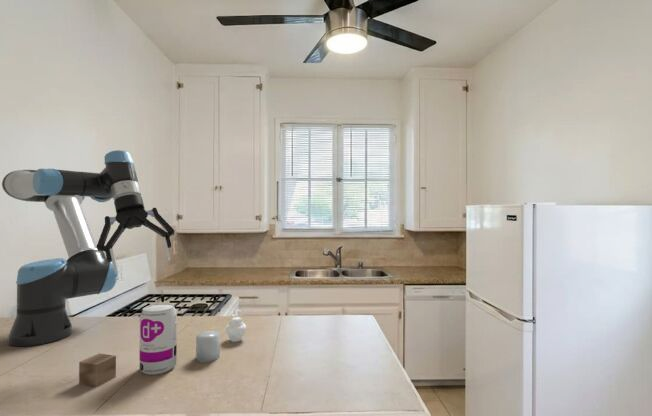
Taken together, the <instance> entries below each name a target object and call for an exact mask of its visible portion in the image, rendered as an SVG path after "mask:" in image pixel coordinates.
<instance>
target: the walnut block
mask: <svg viewBox="0 0 652 416" xmlns="http://www.w3.org/2000/svg"><path fill="white" fill-rule="evenodd" d="M78 363H79V367H78V368H79V369H78V384H79V385H82V386H88V387H93V388H98V387H99V386H102V385H104V384H106V383H107V382H109V381H111V380H113V379H115V378H116V377H117V355H112V354H106V353H100V352H99V353H97V354H95V355H93V356H89V357H88V358H86V359H85V358H84V359H83V360H80V361H79V362H78Z"/></svg>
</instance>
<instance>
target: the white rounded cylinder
mask: <svg viewBox="0 0 652 416" xmlns="http://www.w3.org/2000/svg"><path fill="white" fill-rule="evenodd" d="M220 357H221V333H220V331H217V330H206V331H201V332H199V333H197V334H196V335H195V360H196V361H198V363H208V362H209V363H210V362H214V361H217V360H218V359H220Z"/></svg>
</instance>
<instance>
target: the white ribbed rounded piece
mask: <svg viewBox="0 0 652 416" xmlns="http://www.w3.org/2000/svg"><path fill="white" fill-rule="evenodd" d="M246 331H247V325H246V324H245V322H244V321H243V319H242V318H241V317H239V316H235V317H232V318H230V321H229V323H228V324H227V325H226V327H225V332H226V334H227V337H228V339H229V340H230V342H232V343H236V342H241V341H242V340H243V337H244V335H245V333H246Z"/></svg>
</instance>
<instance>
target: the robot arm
mask: <svg viewBox="0 0 652 416" xmlns="http://www.w3.org/2000/svg"><path fill="white" fill-rule="evenodd" d="M104 165H105V167H104V168H103V169H102V170H101V171H100V172H88V171H76V170H67V169H66V170H65V169H55V168H38V169H17V170H13V171H10V172H8V173H7V174H5V176H4V177H3V178H2V182H1V187H2V190H3V191H4V192H5V193H6V194H7V195H8V196H9V197H11V198H13V199H15V200H20V201H25V202H35V203H44V204H45V207H46V208H47V209H48V210H50V211H52V212H53V215H54V219H55V220H56V224H57V227H58V229H59V232H60V235H61V238H62V241H63V244H64V247H65V250H66V253H67V256H68V258H67V259H65V258H60V257H59V258H51V259H50V258H49V259H43V260H38V261H33V262H29V263H26V264H24V265H22V266H20V267H19V269H18V271H17V277H16V282H15V284H16V316H15V319H14V320H13V324H12V326H11V328H10V331H9V333H8V338H7V341H8V346H12V347H31V346H38V345H44V344H48V343H53V342H56V341H59V340H63V339H65V338H67V337H69V336H70V335H71V334H73V325H72V323H71V320H70V318H69V314H68V312H67V310H66V300H68V299H69V300H70V299H74V298H80V297H86V296H92V295H99V294H103V293H107V292H110V291H111V290H112V289H114V287H115V286H116V283H117V281H118V276H119V274H118V273H119V268H118V262H117V259H116V256H115V255H116V254H115V251H114V248H113V247H114V246H115V244H116V243H117V242H118V240H119V238H120V237H121V236H122V234H123V233H124V232H125V230H126V229H128V230H132V229H134V228H141V227H142V226H144V227H146V228H148V229H149V230H151V231H153V233H156V234H158V235H159V236H160V237H161V238H162V239H161V241H162V244H163V248H164V251H165V255H166V261H170V260H171V254H170V251H169V249H171V248H172V242H171V238H170V237H172V236H175V229H174V228H173V227H172V226H171V225H170V224H169V223H168V222H167V221H166V220H165V219H164V217H162V216H161V214H159V211H158V209H157V207H152V209H149V210H146V208H145V205H144V204H145V203H144V200H143V197H142V193H141V188H140V184H139V180H138V176H137V172H136V167H135V163H134V160H133V157H132V154H130V152H128V151H126V150H120V149H118V150H112V151H109V152H107V153H105V155H104ZM85 197H89V198H91V200H93V201H96V202H98V203H106V202H109V201H110V200H111V199H112V200H113V201H114V202H113V203H114V209H115V212H116V215H115V216H108V215H107V216H105V217H104V225H103V228H102V231H101V234H100V236H99V239H98V241H97V244H96V241H95V238H94V237H93V234H92V231H91V228H90V226H89V223H88V221H87V218H86V215H85V213H84V210H83V208H82V206H81V204H82V203H83V201H84V200H85ZM148 216H150V217H152V218H154V219H155V220H156V221H157V222H158V223H159V225H160V226H162V228H161V227H160V226H158V225H156V223H155V224H154V223H153V222H151V221H150V220H149V219H147V218H148ZM115 222H117V223H118V226H117V228H116V230H115V231H114V232H113V234H112V235H111V237H110V238H109V240H108V242H107V239H108V236H109V233H110V231H111V227H112V225H114V223H115Z"/></svg>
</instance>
